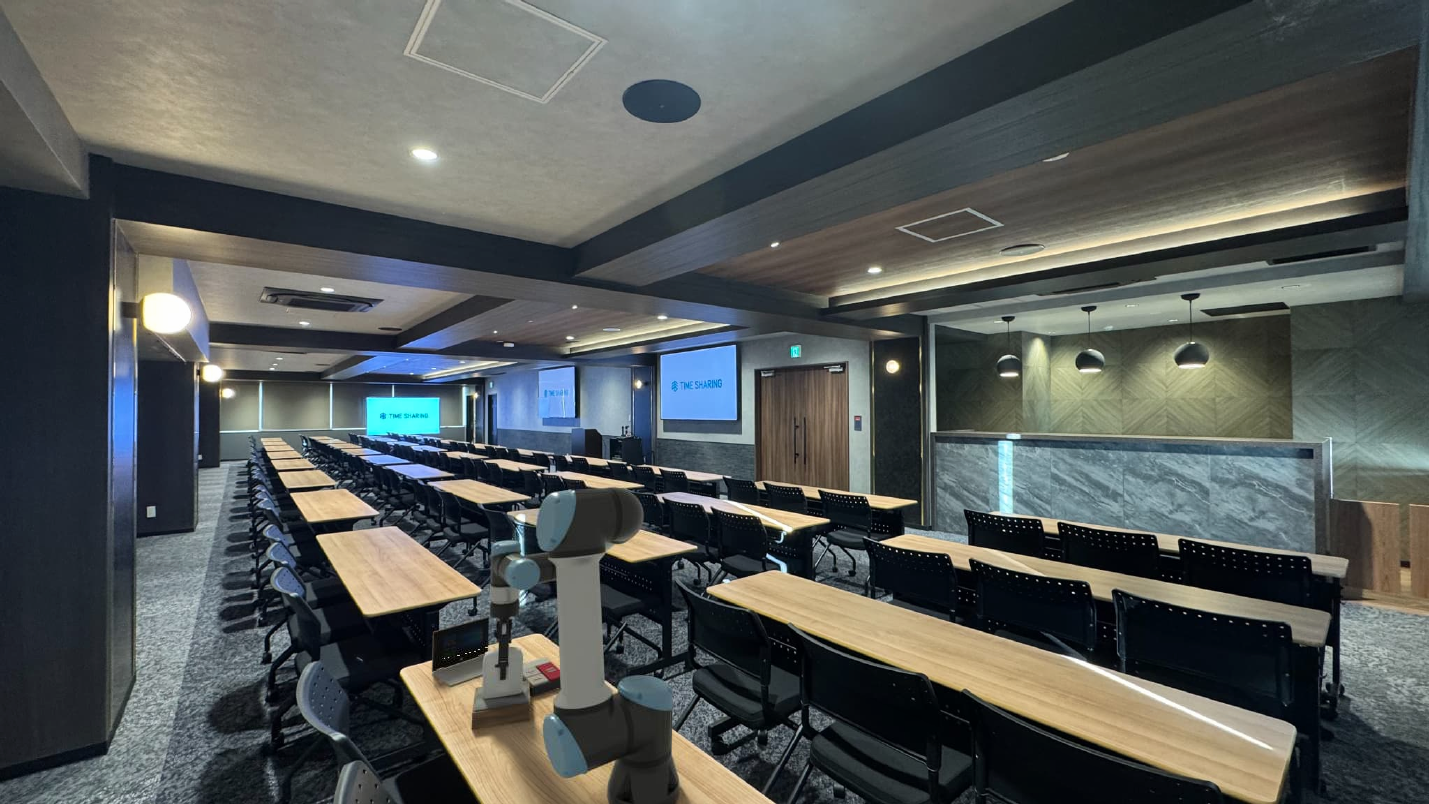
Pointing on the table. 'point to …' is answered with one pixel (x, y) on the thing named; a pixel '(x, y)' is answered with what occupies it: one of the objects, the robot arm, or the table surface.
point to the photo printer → (513, 678)
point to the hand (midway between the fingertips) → (503, 679)
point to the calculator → (541, 676)
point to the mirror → (501, 708)
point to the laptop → (460, 651)
